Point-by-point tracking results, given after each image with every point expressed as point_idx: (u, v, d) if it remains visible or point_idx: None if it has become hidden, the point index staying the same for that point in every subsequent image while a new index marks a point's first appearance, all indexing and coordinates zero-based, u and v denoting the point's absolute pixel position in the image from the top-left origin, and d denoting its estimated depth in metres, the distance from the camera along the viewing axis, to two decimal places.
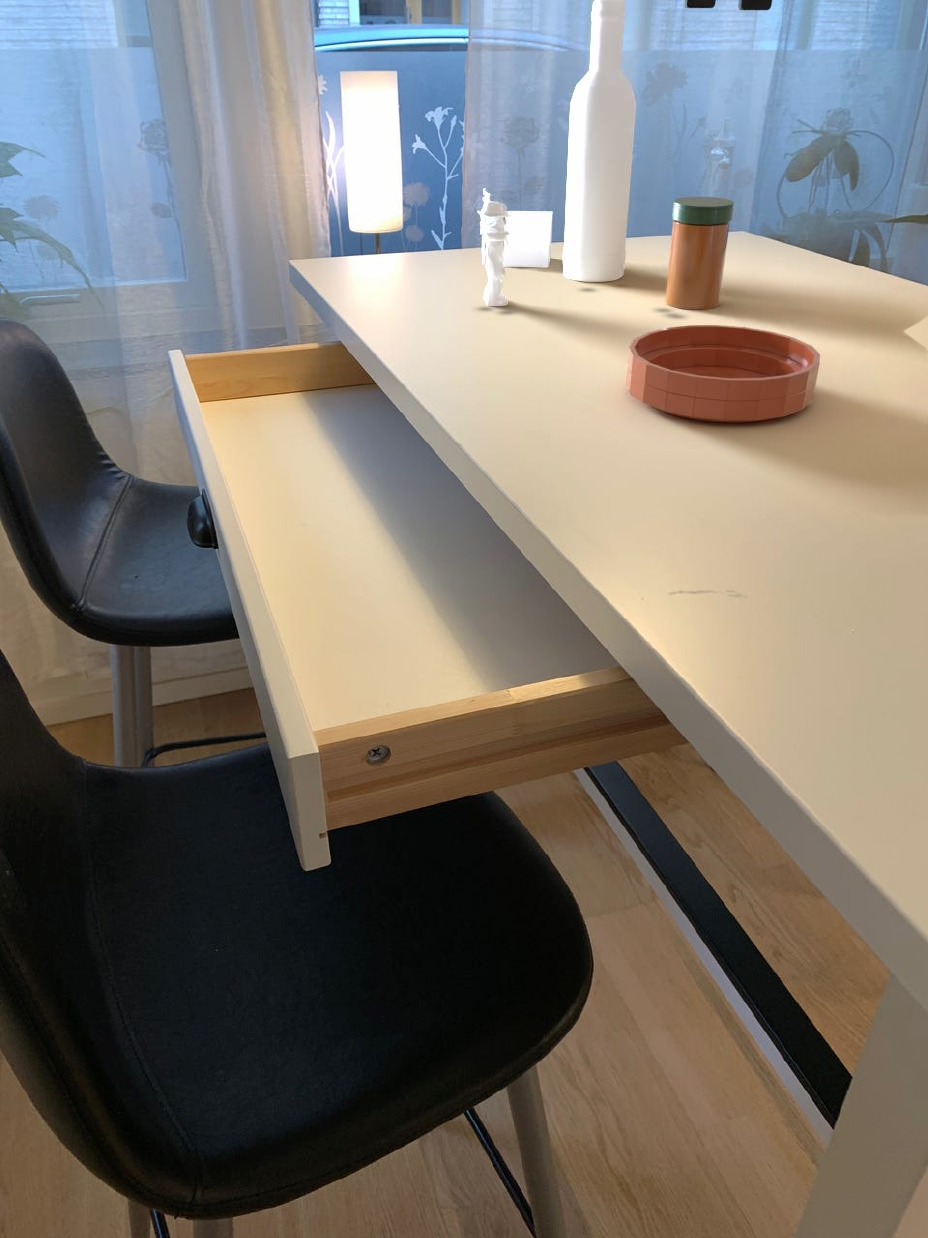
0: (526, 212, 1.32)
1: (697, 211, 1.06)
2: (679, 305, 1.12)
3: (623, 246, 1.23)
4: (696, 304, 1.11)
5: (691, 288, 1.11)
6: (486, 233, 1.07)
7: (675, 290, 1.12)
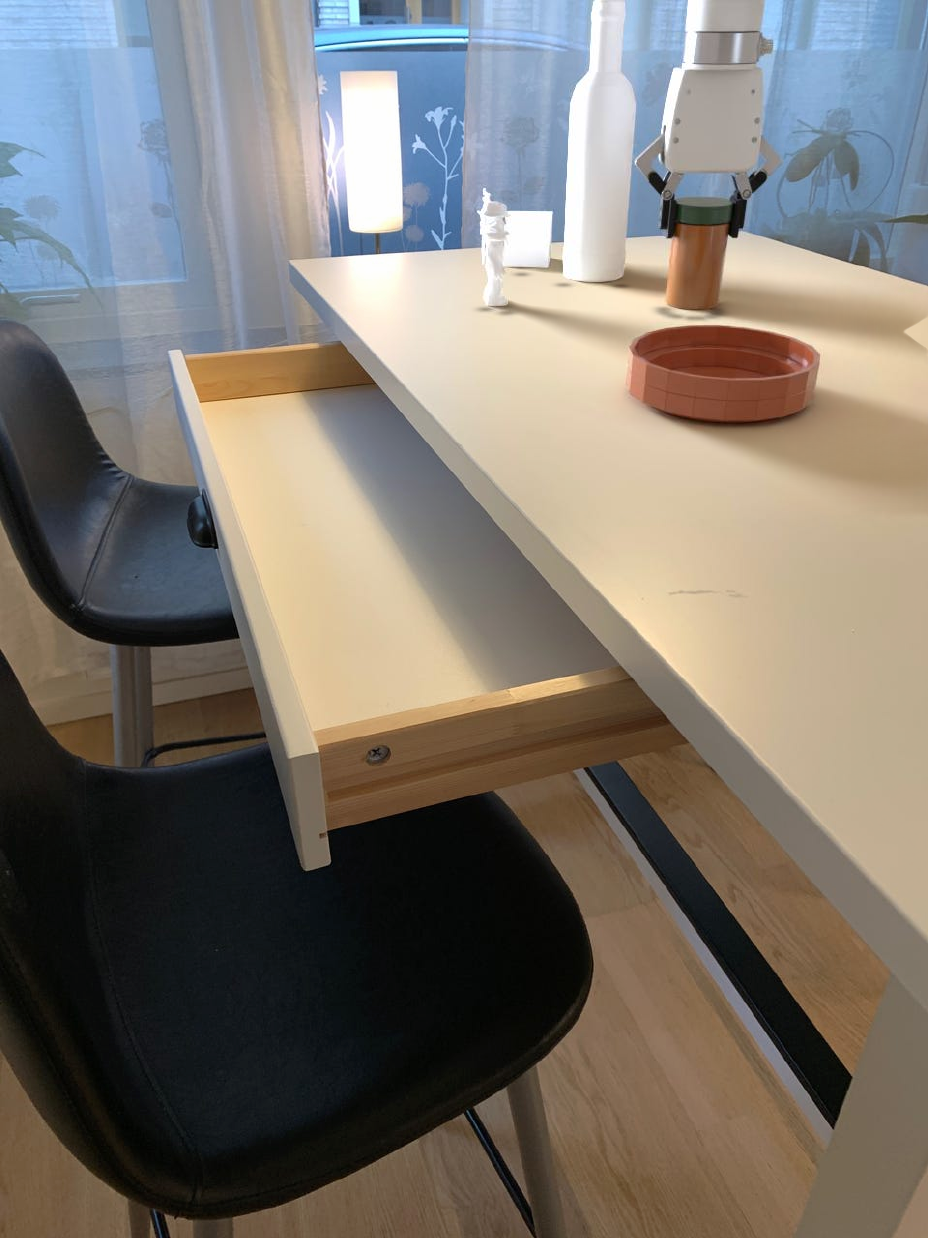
0: (526, 212, 1.32)
1: (697, 211, 1.06)
2: (679, 305, 1.12)
3: (623, 246, 1.23)
4: (696, 304, 1.11)
5: (691, 288, 1.11)
6: (486, 233, 1.07)
7: (675, 290, 1.12)
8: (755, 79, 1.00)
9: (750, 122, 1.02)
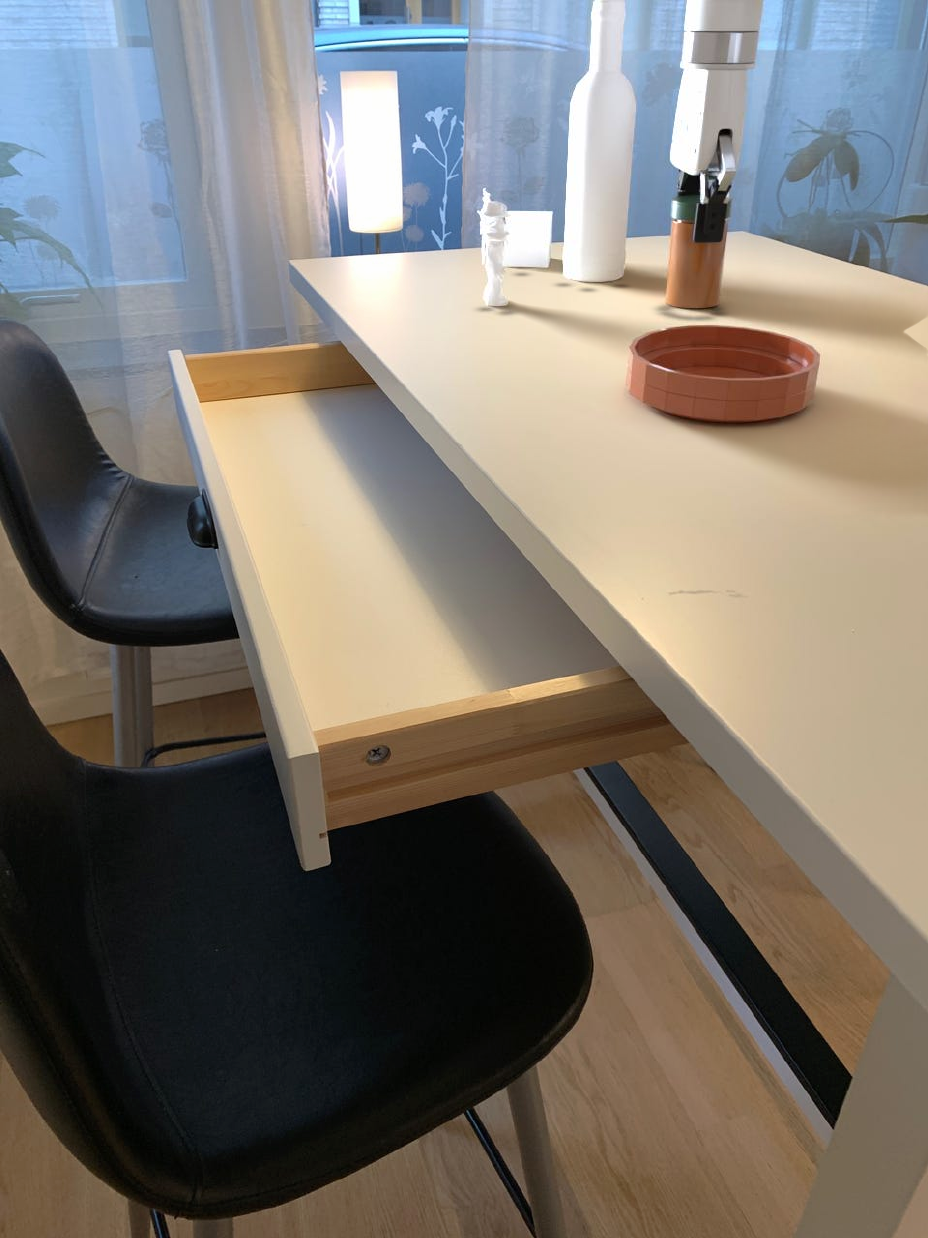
0: (526, 212, 1.32)
1: None
2: (679, 304, 1.12)
3: (623, 246, 1.23)
4: (697, 303, 1.11)
5: (691, 287, 1.11)
6: (486, 233, 1.07)
7: (675, 289, 1.12)
8: None
9: None
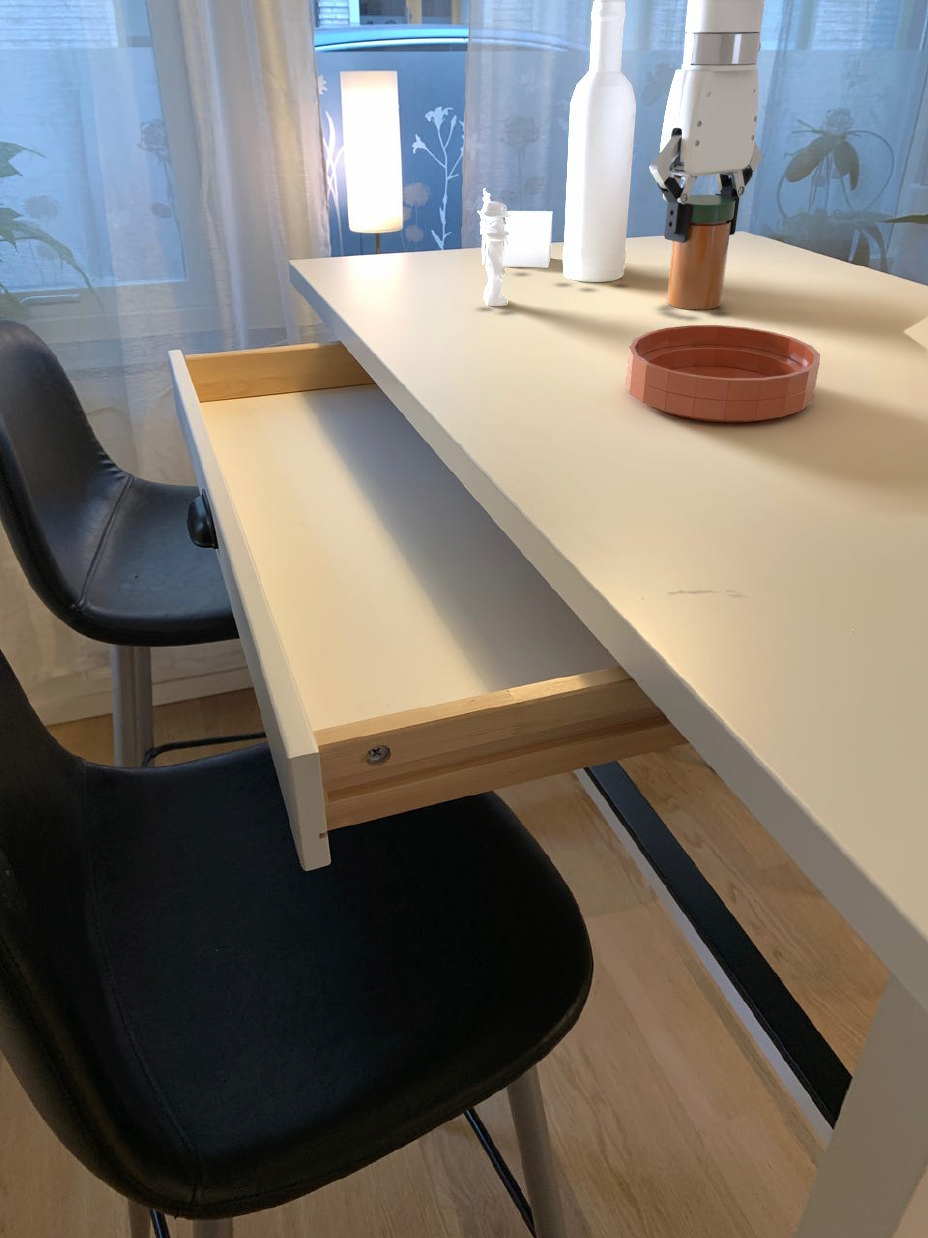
0: (526, 212, 1.32)
1: None
2: (681, 305, 1.12)
3: (623, 246, 1.23)
4: (699, 304, 1.11)
5: (693, 288, 1.11)
6: (486, 233, 1.07)
7: (677, 290, 1.12)
8: (755, 79, 1.02)
9: (751, 121, 1.04)
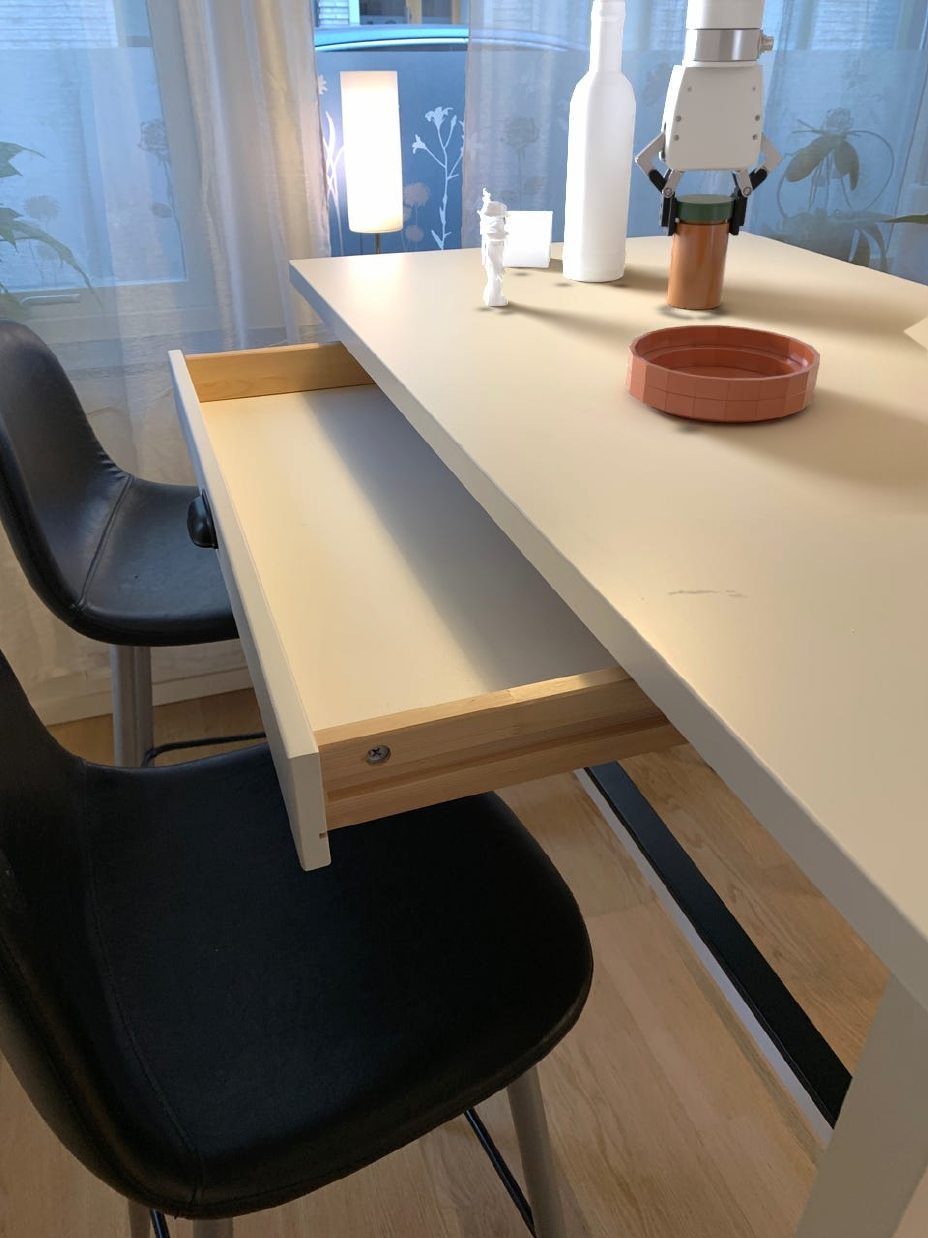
0: (526, 212, 1.32)
1: None
2: (682, 305, 1.12)
3: (623, 246, 1.23)
4: (699, 304, 1.11)
5: (693, 288, 1.11)
6: (486, 233, 1.07)
7: (677, 290, 1.12)
8: (756, 77, 1.00)
9: (751, 119, 1.02)
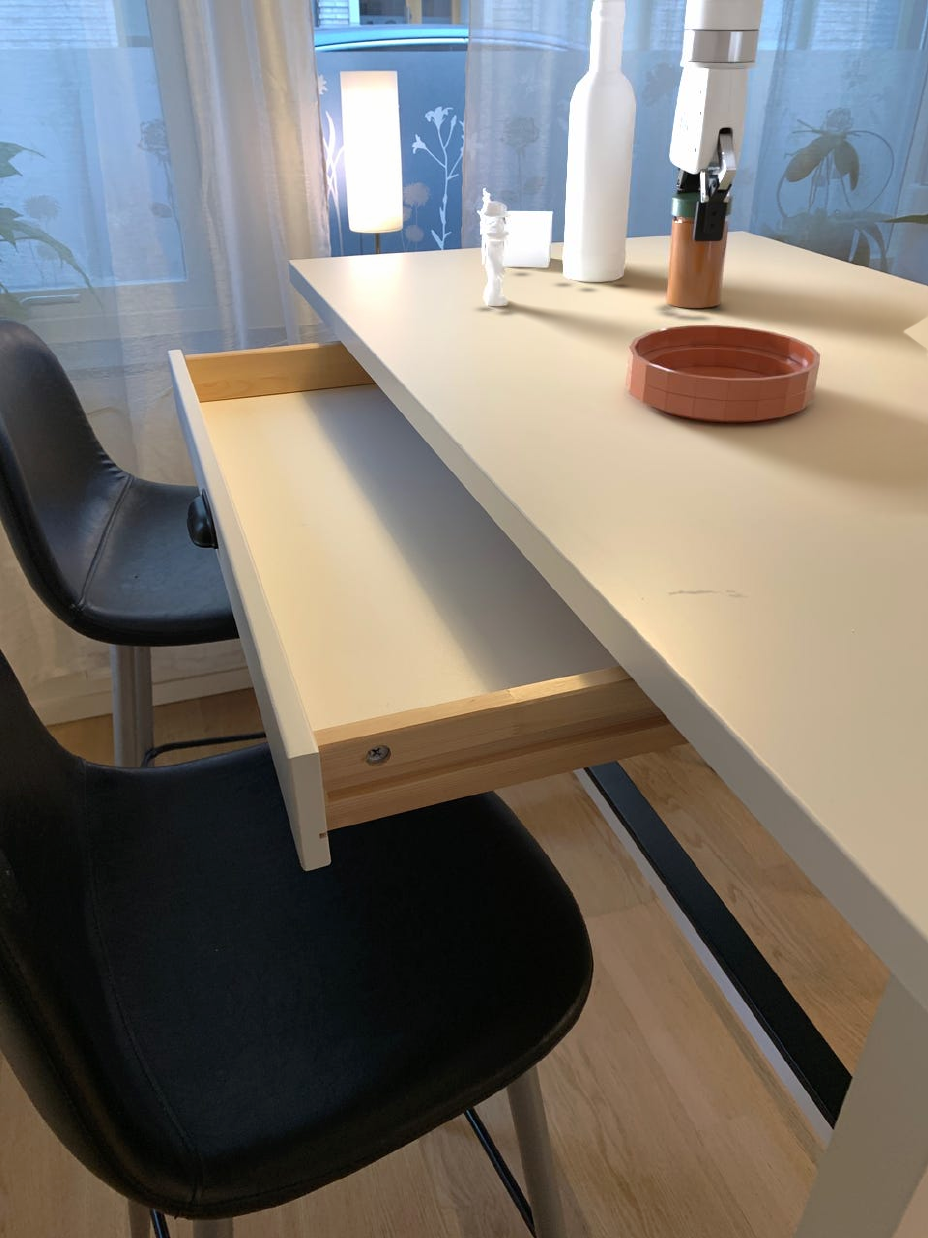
0: (526, 212, 1.32)
1: None
2: (682, 304, 1.12)
3: (623, 246, 1.23)
4: (700, 302, 1.11)
5: (694, 287, 1.11)
6: (486, 233, 1.07)
7: (677, 289, 1.12)
8: None
9: None
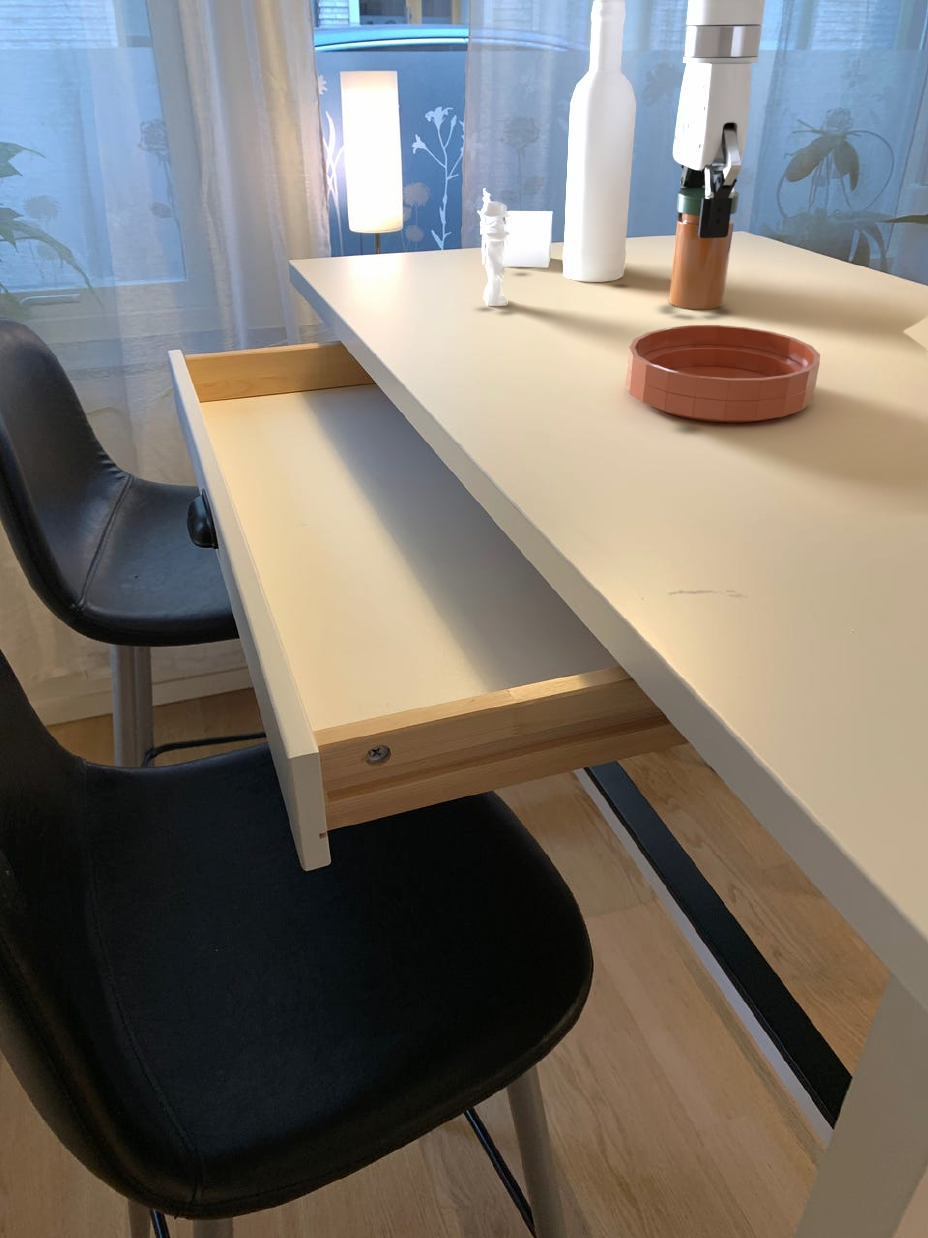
0: (526, 212, 1.32)
1: None
2: (687, 305, 1.12)
3: (623, 246, 1.23)
4: (705, 304, 1.12)
5: (699, 288, 1.11)
6: (486, 233, 1.07)
7: (682, 290, 1.12)
8: None
9: None
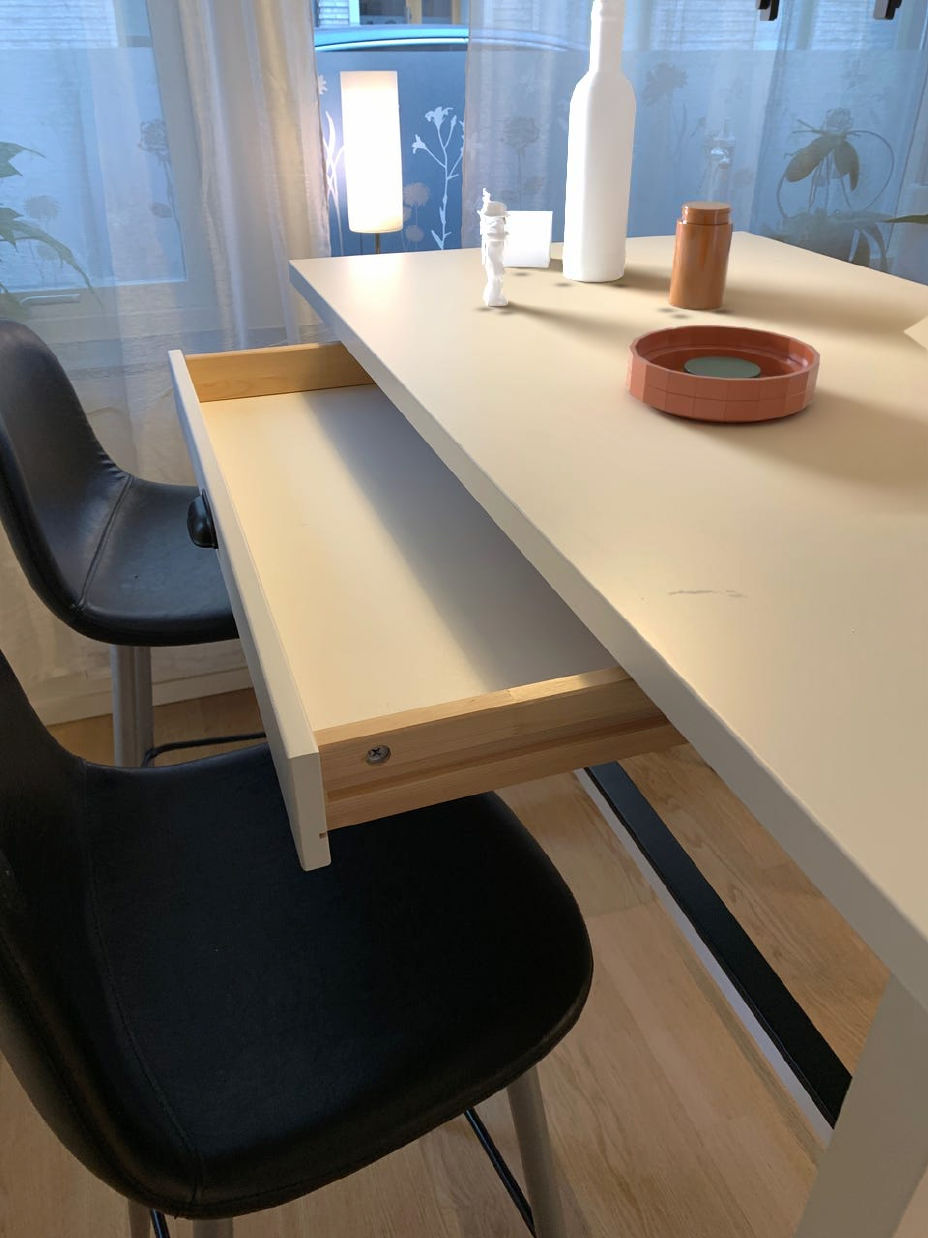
0: (526, 212, 1.32)
1: None
2: (687, 305, 1.12)
3: (623, 246, 1.23)
4: (705, 304, 1.12)
5: (699, 288, 1.11)
6: (486, 233, 1.07)
7: (682, 290, 1.12)
8: None
9: None
